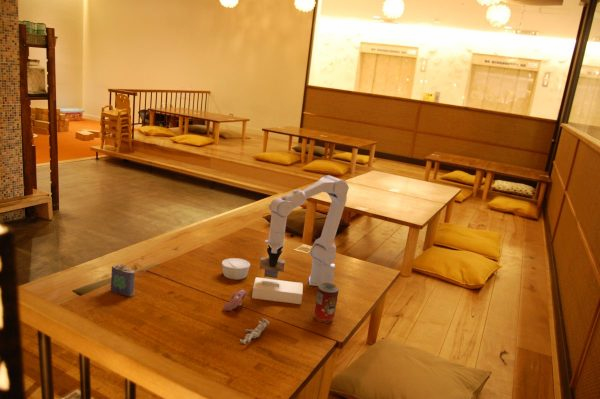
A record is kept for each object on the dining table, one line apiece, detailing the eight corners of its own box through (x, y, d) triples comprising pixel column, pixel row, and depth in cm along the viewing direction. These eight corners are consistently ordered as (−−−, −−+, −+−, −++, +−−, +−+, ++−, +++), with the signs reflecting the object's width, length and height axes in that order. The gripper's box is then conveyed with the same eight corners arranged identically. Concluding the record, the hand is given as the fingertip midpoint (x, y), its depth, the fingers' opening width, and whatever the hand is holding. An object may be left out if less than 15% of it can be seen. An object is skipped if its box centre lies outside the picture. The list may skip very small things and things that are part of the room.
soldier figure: (233, 343, 143) (251, 316, 153) (244, 354, 144) (261, 327, 154) (248, 334, 139) (266, 308, 148) (259, 346, 139) (276, 319, 149)
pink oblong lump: (232, 317, 160) (242, 301, 158) (221, 309, 160) (231, 293, 158) (241, 304, 169) (251, 290, 168) (230, 297, 170) (241, 282, 168)
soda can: (323, 325, 159) (329, 291, 156) (309, 316, 164) (314, 283, 161) (338, 320, 164) (343, 287, 161) (323, 312, 169) (328, 280, 166)
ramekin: (215, 276, 187) (216, 263, 186) (229, 267, 198) (231, 255, 196) (240, 283, 184) (241, 270, 182) (253, 274, 194) (255, 262, 193)
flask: (135, 295, 162) (136, 266, 160) (129, 298, 160) (130, 268, 157) (114, 288, 166) (115, 259, 163) (107, 291, 163) (108, 262, 160)
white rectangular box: (301, 292, 182) (302, 283, 181) (301, 304, 173) (302, 294, 172) (254, 286, 182) (255, 277, 181) (251, 298, 172) (253, 287, 171)
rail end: (282, 276, 181) (285, 260, 179) (282, 279, 177) (284, 263, 176) (259, 273, 180) (261, 257, 179) (258, 276, 177) (260, 259, 176)
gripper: (268, 223, 182) (264, 257, 185) (264, 235, 168) (260, 270, 171) (286, 226, 182) (282, 259, 185) (284, 237, 168) (279, 273, 171)
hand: (272, 265), depth 178 cm, fingers closed on rail end, 3 cm apart
